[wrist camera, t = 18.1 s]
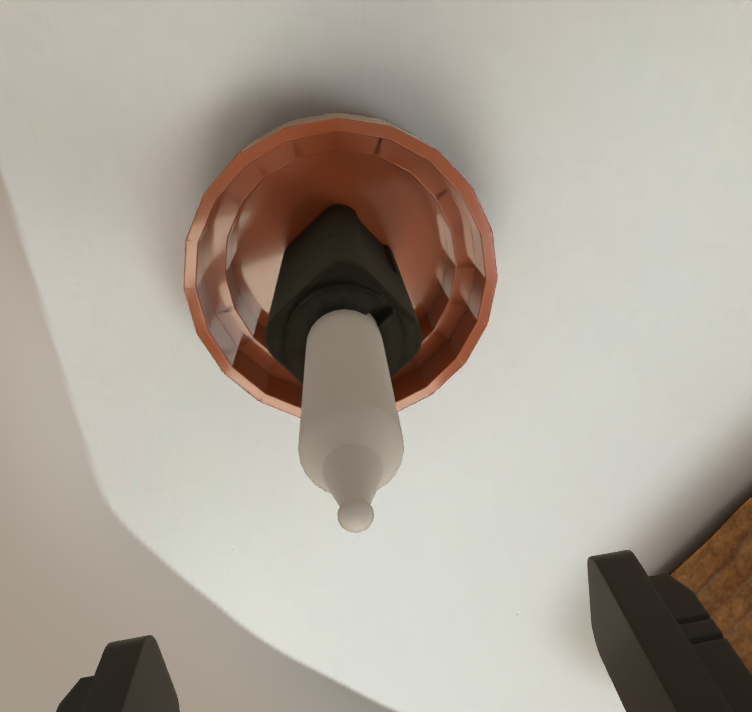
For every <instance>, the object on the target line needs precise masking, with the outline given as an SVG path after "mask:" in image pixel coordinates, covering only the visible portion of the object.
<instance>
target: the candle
mask: <svg viewBox="0 0 752 712" xmlns="http://www.w3.org/2000/svg"><path fill="white" fill-rule="evenodd" d="M264 339H265V345H266V347H267V349H268V351H269V353H270V354H271V355H272V356H273V358H274V359H275V360H276V361H278V362H279V363H280V364H281V365H282V366H283V367H284V368H285V369H286V370H287V371H288V372H290V373H291V374H292V375H293V376H294V377H295V378H296V379H297V380H298V381H299V382H301V383H302V384H303V394H302V407H301V420H300V433H299V446H298V451H299V457H300V462H301V465H302V467H303V469H304V471H305V473H306V475H307V476H308V477H309V479H310V480H311V481H312V482H313V483H314V484H315V485H316V486H318V487H319V488H321V489H322V490H324V491H326V492H329V493H331V494H332V495H333V497H334V498H335V500H336V501H337V503H338V505H339V506H340V508H339V510H338V521H339V523H340V525H341V526H342V527H343V528H344V529H345V530H347V531H349V532H353V533H357V532H362V531H364V530H366V529H367V528H368V527H369V526H370V525H371V523H372V521H373V518H374V513H373V509H372V506H371V505H370V504H371V502H372V499H373V497H374V495H375V493H376V491H377V490H378V489H380V488H381V487H383V486H384V485H386V484H387V483H388V482H389V481H390V480H391V479H392V478H393V477H394V476H395V474H396V472H397V470H398V468H399V467H400V465H401V461H402V456H403V451H404V445H403V436H402V431H401V426H400V421H399V417H398V412H397V407H396V402H395V398H394V393H393V388H392V383H391V378H392V377H393V376H394V375H395V374H397V373H398V372H399V371H400V370H401V369H402V368H403V367H405V366H406V365H407V364H408V363H409V362H410V361H411V360H413V358H414V357H415V356H416V355H417V354H418V352H419V350H420V348H421V345H422V340H423V336H422V330H421V327H420V325H419V322H418V319H417V317H416V314H415V311H414V308H413V306H412V303H411V300H410V298H409V295H408V292H407V290H406V287H405V284H404V281H403V279H402V276H401V273H400V271H399V268H398V265H397V263H396V260H395V257H394V254H393V252H392V250H391V249H390V247H389V246H388V245H386V246H384V245H383V244H382V243H381V242H380V241H379V240H378V239H377V238H376V237H375V236H374V235H373V234H372V233H371V232H370V231H369V230H368V229H367V228H366V227H365V226H364V224H363V223H362V222H361V221H360V220H359V219H358V217H357V213H356V211H355V210H354V209H352V208H351V207H349V206H347V205H342V204H336V205H332V206H330V207H328V208H327V209H325V210H324V211H323V212H322V213H321V214H320V215H319V216H318V217H317V218H316V219H315V220H314V221H313V222H312V223H311V224H310V225H309V226H307V227H306V228H305V229H304V230H303V231H302V232H301V233H300V234H299V235H298V236H297V237H296V238H295V239H294V240H293V241H292V242H291V243H290V244H289V245H288V246H287V248H286V249H285V251H284V254H283V258H282V262H281V266H280V270H279V275H278V279H277V283H276V287H275V291H274V295H273V300H272V304H271V308H270V312H269V316H268V320H267V324H266V329H265V335H264Z"/></svg>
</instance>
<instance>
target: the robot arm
mask: <svg viewBox="0 0 752 712" xmlns="http://www.w3.org/2000/svg"><path fill="white" fill-rule="evenodd" d="M587 566H588V581H589V595H590V610H591V623H592V629H593V634H594V638H595V642H596V645H597V648H598V651H599V654H600V656H601V659H602V661H603V663H604V665H605V667H606V669H607V672H608V674H609V676H610V678H611V680H612V682H613V684H614V687H615V689H616V691H617V693H618V695H619V697H620V699H621V701H622V704H623V706H624V708H625V710H626V712H752V674H751V673H750V672H749V670H748V669H747V667H746V666H745V664H744V663H743V662H742V660H741V659H740V657H739V656H738V655H737V653H736V652H735V650H734V649H733V647H732V646H731V645H730V643H729V642H728V640H727V639H726V638H724V637H723V633H722V632H721V630H720V629H719V628H718V626H717V625H716V623H715V622H714V620H713V619H710V616H709V613H708V612H707V610H706V609H705V608H704V606H703V605H702V603H701V602H700V601H699V599H698V598H697V596H696V595H695V593H694V592H693V591H692V590H690V589H689V588H688V587H686V586H685V585H683V584H682V583H680V582H679V581H678V580H676V579H675V578H673V577H672V576H670V575H669V574H668V573H667V574H661V575H656V576H650V577H648V575H647V574H646V572H645V570H644V569H643V567H642V566H641V564H640V563H639V561H638V559H637V558H636V556H635V555H634V553H633V552H632V551H630V550H624V551H619V552H613V553H608V554H602V555H597V556H591V557H589V558H588V563H587ZM56 712H180V710H179V702H178V698H177V694H176V691H175V689H174V686H173V683H172V681H171V678H170V675H169V673H168V670H167V667H166V665H165V662H164V660H163V657H162V654H161V652H160V649H159V646H158V644H157V641H156V640H155V638H154V637H153V636H151V635H148V636H143V637H137V638H132V639H126V640H121V641H115V642H111V643H109V644H108V645H107V646H106V647H105V650H104V652H103V654H102V657H101V660H100V662H99V665H98V667H97V670H96V673H95V675H94V676H90V677H85V678H81V679H80V680H79V681H78V682H77V684H76V685H75V686H74V687H73V688H72V689H71V691H70V692H69V693H68V694H67V696H66V697H65V698H64V699H63V700H62V702H61V703H60V704H59V706H58V708H57V711H56Z"/></svg>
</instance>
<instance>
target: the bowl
mask: <svg viewBox="0 0 752 712" xmlns="http://www.w3.org/2000/svg"><path fill="white" fill-rule="evenodd" d="M336 204H342V205H347V206H349V207H351V208H352V209H354V210H355V211H356V213H357V217H358V219H359V220H360V221H361V222H362V223H363V224H364V226H365V227H366V228H367V229H368V230H369V231H370V232H371V233H372V234H373V235H374V236H375V237H376V238H377V239H378V240H379V241H380V242H381V243H382V244H383V245H384V246H386V245H388V246H389V247H390V249H391V250H392V252H393V254H394V257H395V260H396V263H397V265H398V268H399V271H400V273H401V276H402V279H403V281H404V284H405V287H406V290H407V292H408V295H409V298H410V300H411V303H412V306H413V308H414V311H415V314H416V317H417V319H418V322H419V325H420V327H421V330H422V336H423V340H422V345H421V348H420V350H419V352H418V354H417V355H416V356H415V357H414V358H413V360H411V361H410V362H409V363H408V364H407V365H406V366H405V367H403V368H402V369H401V370H400V371H399V372H398V373H397V374H395V375H394V376H393V377H392V378H391V383H392V388H393V393H394V398H395V402H396V407H397V412H398V411H400V410H402V409H404V408H406V407H408V406H410V405H412V404H414V403H416V402H418V401H420V400H422V399H424V398H426V397H428V396H430V395H432V394H433V393H434V392H435V391H436V390H437V389H439V388H440V387H441V386H442V385H443V384H444V383H445V382H446V381H447V380H448V379H449V378H450V377H451V376H452V375H453V374H454V373H456V372H457V371H458V370H459V369H460V368H461V367H462V366H463V365H464V364H465V363H466V361H467V360H468V358H469V356H470V354H471V353H472V351H473V349H474V347H475V345H476V344H477V342H478V340H479V338H480V337H481V335H482V333H483V331H484V330H485V328H486V326H487V323H488V321H489V316H490V311H491V307H492V302H493V297H494V293H495V288H496V283H497V268H496V259H495V250H494V241H493V232H492V229H491V227H490V224H489V222H488V220H487V218H486V216H485V214H484V212H483V209H482V207H481V205H480V203H479V201H478V199H477V197H476V194H475V192H474V190H473V188H472V187H471V185H470V184H469V183H468V182H467V181H466V180H465V179H464V178H463V177H462V175H461V174H460V173H459V172H458V171H457V170H456V169H455V168H454V167H453V166H452V165H451V164H450V163H449V162H448V161H447V160H446V159H445V158H444V157H443V156H442V155H441V154H440V153H439V152H438V150H436V149H435V148H433V147H432V146H430V145H429V144H428V143H426V142H425V141H423V140H422V139H420V138H418V137H416V136H414V135H412V134H410V133H408V132H406V131H404V130H403V129H401V128H399V127H397V126H395V125H393V124H391V123H389V122H387V121H385V120H383V119H380V118H373V117H367V116H360V115H353V114H346V113H339V112H333V113H327V114H322V115H317V116H311V117H306V118H301V119H295V120H291V121H288V122H286V123H285V124H283V125H281V126H279V127H278V128H276V129H274V130H272V131H271V132H269V133H267V134H265V135H264V136H262V137H260V138H258V139H257V140H255V141H253V142H251V143H250V144H249V145H248V146H247V147H246V148H244V149H243V150H242V151H241V152H240V153H239V154H238V155H237V156H236V157H235V158H234V159H233V160H232V162H231V163H230V164H229V165H228V166H227V167H226V168H225V170H224V171H223V172H222V173H221V174H220V175H219V176H218V178H217V179H216V180H215V181H214V182H213V183H212V184H211V186H210V187H209V188H208V189H207V190H206V191H205V193H204V195H203V197H202V200H201V202H200V205H199V207H198V210H197V212H196V215H195V217H194V220H193V222H192V225H191V227H190V230H189V232H188V235H187V237H186V246H185V268H184V291H185V294H186V298H187V301H188V305H189V308H190V312H191V315H192V319H193V322H194V326H195V329H196V332H197V333H198V336H199V338H200V339H201V341H202V342H203V344H204V345H205V347H206V348H207V350H208V351H209V352H210V354H211V355H212V357H213V358H214V360H215V361H216V363H217V364H218V366H219V367H220V369H221V370H222V372H224V374H225V375H227V376H228V377H229V378H230V379H232V380H233V381H234V382H235V383H237V384H238V385H239V386H240V387H242V388H243V389H244V390H246V391H247V392H248V393H249V394H251V395H252V396H253V397H254V398H256V399H257V400H258V401H260V402H262V403H264V404H267V405H269V406H272V407H274V408H277V409H279V410H282V411H284V412H287V413H289V414H292V415H294V416H297V417H299V418H301V407H302V394H303V384H302V383H301V382H299V381H298V380H297V379H296V378H295V377H294V376H293V375H292V374H291V373H290V372H288V371H287V370H286V369H285V368H284V367H283V366H282V365H281V364H280V363H279V362H278V361H276V360H275V359H274V358H273V356H272V355H271V354H270V353H269V351H268V349H267V347H266V345H265V339H264V335H265V329H266V324H267V320H268V316H269V312H270V308H271V304H272V300H273V295H274V291H275V287H276V283H277V279H278V275H279V270H280V266H281V262H282V258H283V254H284V251H285V249H286V248H287V246H288V245H289V244H290V243H291V242H292V241H293V240H294V239H295V238H296V237H297V236H298V235H299V234H300V233H301V232H302V231H303V230H304V229H305V228H306V227H307V226H309V225H310V224H311V223H312V222H313V221H314V220H315V219H316V218H317V217H318V216H319V215H320V214H321V213H322V212H323V211H324V210H325V209H327V208H328V207H330V206H332V205H336Z"/></svg>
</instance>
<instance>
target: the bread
mask: <svg viewBox="0 0 752 712" xmlns="http://www.w3.org/2000/svg"><path fill="white" fill-rule="evenodd" d="M670 576H672V577H673V578H675V579H676V580H678V581H679V582H680V583H682V584H683V585H685V586H686V587H688V588H689V589H690V590H692V591H693V592H694V593H695V595H696V596H697V598H698V599H699V601H700V602H701V603H702V605H703V606H704V608H705V609H706V610H707V612H708V613H709V616H710V619H713V620H714V622H715V623H716V625H717V626H718V628H719V629H720V630H721V632H722V633H723V637H724V638H726V639H727V640H728V642H729V643H730V645H731V646H732V647H733V649H734V650H735V652H736V653H737V655H738V656H739V657H740V659H741V660H742V662H743V663H744V664H745V666H746V667H747V669H748V670H749V672H750V673H751V674H752V497H751V498H749V499H748V500H747V501H746V502H745V503H744V504H743V505H742V506H741V507H740V508H739V509H738V510H737V511H736V512H735V513H734V514H733V515H732V516H731V517H730V518H729V519H728V520H727V521H726V522H725V523H724V524H723V526H722V527H721V528H720V529H719V530H718V531H717V532H716V533H715V534H714V535H713V536H712V537H711V538H710V539H709V540H708V541H707V542H706V543H705V544H704V545H703V546H702V547H701V548H699V549H698V550H697V551H696V552H695V553H694V554H693V555H692V556H691V557H689V558H688V559H687V560H686V561H685V562H684V563H683V564H682V565H681V566H680V567H679V568H677V569H676V570H675V571H674V572H673V573H672V574H671V575H670Z"/></svg>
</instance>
